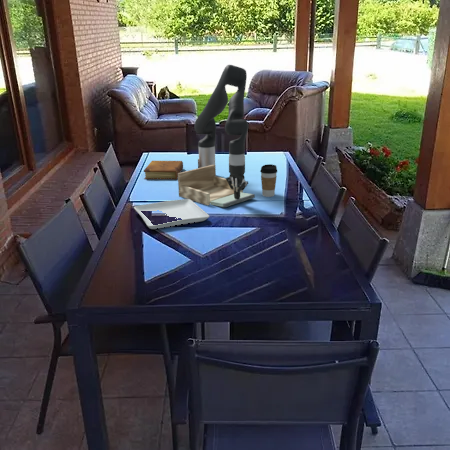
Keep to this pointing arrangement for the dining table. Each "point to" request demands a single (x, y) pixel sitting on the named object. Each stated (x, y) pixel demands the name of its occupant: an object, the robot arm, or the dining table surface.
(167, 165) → the diary
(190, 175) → the tray
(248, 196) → the panel
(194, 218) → the square plate
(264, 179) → the coffee cup
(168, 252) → the dining table surface
